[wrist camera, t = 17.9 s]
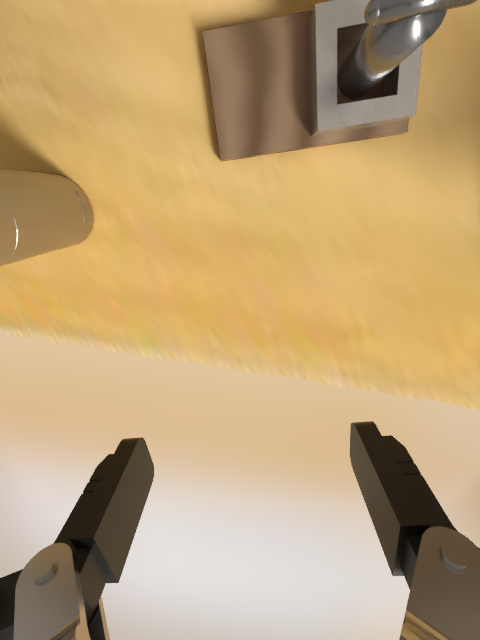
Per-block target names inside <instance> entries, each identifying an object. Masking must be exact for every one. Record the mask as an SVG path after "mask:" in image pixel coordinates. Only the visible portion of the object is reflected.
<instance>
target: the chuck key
mask: <svg viewBox="0 0 480 640" xmlns="http://www.w3.org/2000/svg"><path fill="white" fill-rule="evenodd" d="M475 1H476V0H370V1H369V2H368V4H367V6H366V8H365V13H364V18H365V21H366V23H367V24H368V27H367V28H366V30H365V31H364V33H363V34H362V36H361V37H360V39H359V40H358V42H357V43H356V45H355V46H354V47H353V49H352V50H351V52H350V53H349V55H348V56H347V58H346V59H345V61H344V62H343V64H342V65H341V67H340V70H339V73H338V87H339V89H340V91H341V93H342V94H343V95H344V96H345V97H347V98H349V99H357V98H360V97H362V96H364V95H365V94H366V93H367V92H368V91H369V90H371V89H372V88H373V87H374V86H375V85H376V84H377V83H378V82H380V81H381V80H382V79H383V78H384V77H385V76H386V75H387V74H389V73H390V72H391V71H392V70H393V69H394V68H395V67H397V66H398V65H399V64H400V63H401V62H402V61H403V60H404V59H406V58H407V57H408V56H409V55H410V54H411V53H412V52H413V51H415V50H416V49H417V48H418V47H419V46H420V45H421V44H422V43H424V42H425V41H426V40H427V39H428V38H429V37H430V36H431V35H432V34H433V33H434V32H435V31H436V30H437V29H438V27H439V26H440V24H441V23H442V21H443V19H444V17H445V14H446V12H447V10H448V9H452V8H457V7H461V6H466V5H470V4H472V3H474V2H475Z"/></svg>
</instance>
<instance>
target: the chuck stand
mask: <svg viewBox="0 0 480 640" xmlns="http://www.w3.org/2000/svg"><path fill="white" fill-rule="evenodd" d="M369 1H370V0H332V1H327V2H322V3H317V4H315V6H314V9H313V10H312V11H307V12H302V13H297V14H291V15H286V16H281V17H276V18H271V19H265V20H260V21H255V22H250V23H245V24H239V25H234V26H229V27H224V28H219V29H213V30H208V31H203V38H204V45H205V52H206V59H207V66H208V74H209V81H210V88H211V95H212V103H213V110H214V117H215V124H216V131H217V139H218V146H219V153H220V160H221V161H228V160H234V159H241V158H248V157H254V156H261V155H267V154H274V153H280V152H287V151H293V150H300V149H306V148H313V147H319V146H326V145H332V144H339V143H345V142H352V141H359V140H365V139H372V138H378V137H385V136H391V135H398V134H402V133H405V132H408V121H409V118H410V117H413V116H415V115H416V105H417V95H418V85H419V74H420V64H421V54H422V44H421V45H420V46H419V47H418V48H417V49H416V50H415V51H413V52H412V53H411V54H410V55H409V56H408V57H407V58H406V59H404V60H403V61H402V62H401V63H400V64H399V65H398V66H397V67H395V68H394V69H393V70H392V71H391V72H390V73H389V74H387V75H386V76H385V77H384V78H383V79H382V80H381V81H380V82H378V83H377V84H376V85H375V86H374V87H373V88H372V89H371V90H369V91H368V92H367V93H366V94H365V95H364V96H362V97H360V98H357V99H349V98H347V97H345V96H344V95H343V94H342V93H341V91H340V89H339V87H338V73H339V70H340V67H341V65H342V64H343V62H344V61H345V59H346V58H347V56H348V55H349V53H350V52H351V50H352V49H353V47H354V46H355V45H356V43H357V42H358V40H359V39H360V37H361V36H362V34H363V33H364V31H365V30H366V28H367V27H368V24H367V23H366V21H365V18H364V13H365V8H366V6H367V4H368V2H369Z"/></svg>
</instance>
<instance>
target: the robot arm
mask: <svg viewBox="0 0 480 640" xmlns="http://www.w3.org/2000/svg"><path fill="white" fill-rule="evenodd" d="M92 226H93V211H92V207H91V204H90V202H89V200H88V198H87V196H86V195H85V193H84V192H83V191H82V189H81V188H80V187H79V186H78V185H77V184H75V183H74V182H73V181H72V180H70V179H68V178H66V177H64V176H61V175H58V174H49V173H40V172H31V171H21V170H11V169H1V168H0V266H3V265H6V264H10V263H13V262H17V261H20V260H24V259H27V258H30V257H34V256H37V255H41V254H44V253H48V252H51V251H55V250H58V249H62V248H65V247H69V246H72V245H75V244H78V243H80V242H82V241H83V240H85V239H86V238H87V236H88V235H89V234H90V232H91V229H92ZM350 436H351V437H350V458H351V463H352V467H353V470H354V473H355V476H356V479H357V481H358V484H359V487H360V489H361V492H362V495H363V497H364V500H365V503H366V505H367V508H368V511H369V514H370V516H371V518H372V522H373V524H374V527H375V529H376V532H377V535H378V538H379V540H380V543H381V546H382V548H383V551H384V554H385V556H386V559H387V562H388V565H389V567H390V570H391V572H392V575H393V576H405V579H406V581H407V584H408V586H409V589H410V594H409V599H408V603H407V609H406V613H405V618H404V622H403V626H402V631H401V635H400V640H480V548H478V547H477V546H476V545H475V544H474V543H473V542H472V541H470V540H469V539H468V538H467V537H465V536H464V535H462V534H461V533H459V532H458V531H457V530H456V529H455V528H454V526H453V525H452V523H451V522H450V520H449V519H448V517H447V515H446V514H445V512H444V511H443V509H442V507H441V506H440V504H439V502H438V501H437V499H436V498H435V496H434V494H433V492H432V491H431V489H430V488H429V486H428V484H427V483H426V481H425V480H424V478H423V476H421V474H420V471H419V470H418V468H417V466H416V465H415V464H414V462H413V460H412V458H411V457H410V455H409V453H408V451H407V450H406V448H405V447H404V446H403V445H402V444H401V443H400V442H398V441H397V440H396V439H395V438H394V437H393V436H381V434H380V432H379V430H378V428H377V427H376V425H375V423H374V422H357V423H352V424H351V435H350ZM153 477H154V465H153V462H152V459H151V456H150V453H149V451H148V448H147V445H146V442H145V440H144V438H130V439H123V440H122V441H121V442H120V444H119V446H118V447H117V449H116V451H115V453H114V454H109V455H108V456H107V457H106V458H105V459H104V460H103V461H102V462H101V463H100V464H99V465H98V466H97V468H96V469H95V471H94V473H93V475H92V476H91V478H90V482H89V483H88V484H87V485H86V487H85V489H84V491H83V494H82V495H81V496H80V498H79V500H78V501H77V503H76V505H75V507H74V509H73V510H72V512H71V514H70V516H69V518H68V519H67V521H66V523H65V525H64V526H63V528H62V530H61V532H60V534H59V535H58V537H57V539H56V540H55V542H54V544H52V545H50V546H48V547H46V548H44V549H43V550H41V551H40V552H39V553H37V554H36V555H35V556H34V557H33V558H32V559H31V560H30V561H29V562H28V563H27V565H26V566H25V567H24V569H22V570H20V571H17V572H15V573H12V574H10V575H7V576H5V577H2V578H0V640H110V638H109V633H108V628H107V623H106V618H105V613H104V608H103V603H102V599H101V594H102V591H103V589H104V586H105V583H118V582H119V579H120V576H121V573H122V570H123V567H124V565H125V562H126V558H127V556H128V553H129V550H130V547H131V544H132V541H133V538H134V535H135V532H136V529H137V526H138V523H139V520H140V517H141V514H142V511H143V508H144V505H145V503H146V500H147V497H148V494H149V491H150V487H151V485H152V482H153Z"/></svg>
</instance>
